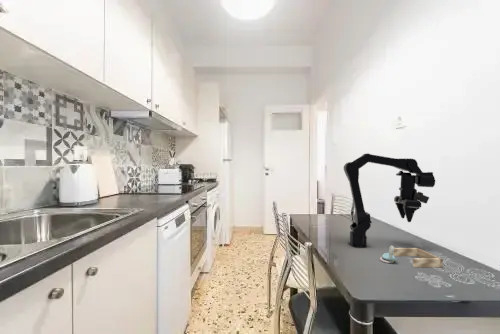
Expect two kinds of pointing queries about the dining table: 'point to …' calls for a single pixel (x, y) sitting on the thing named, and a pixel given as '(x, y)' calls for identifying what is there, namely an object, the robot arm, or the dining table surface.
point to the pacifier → (389, 256)
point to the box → (425, 259)
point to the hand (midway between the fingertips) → (405, 220)
